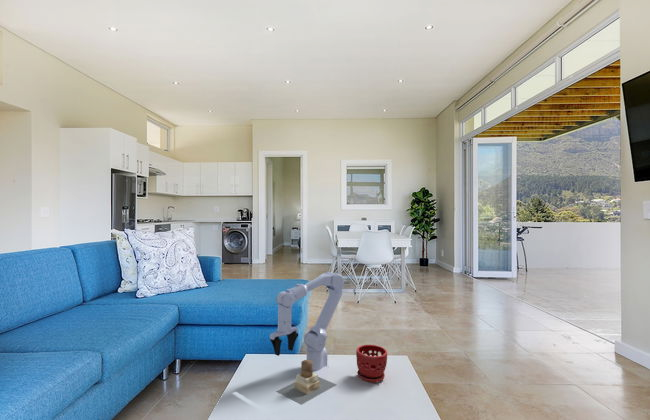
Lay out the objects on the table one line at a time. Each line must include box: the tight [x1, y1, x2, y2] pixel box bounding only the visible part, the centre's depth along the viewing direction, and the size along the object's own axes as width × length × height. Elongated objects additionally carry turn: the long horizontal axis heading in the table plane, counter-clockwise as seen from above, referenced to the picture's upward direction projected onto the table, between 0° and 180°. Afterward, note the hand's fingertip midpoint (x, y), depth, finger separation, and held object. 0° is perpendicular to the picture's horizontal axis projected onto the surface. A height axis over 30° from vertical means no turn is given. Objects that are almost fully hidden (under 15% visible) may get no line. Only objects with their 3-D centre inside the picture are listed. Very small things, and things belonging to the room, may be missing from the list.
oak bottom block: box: [294, 381, 320, 394], centre depth 133 cm, size 7×7×2 cm
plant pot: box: [355, 344, 388, 384], centre depth 144 cm, size 13×13×12 cm
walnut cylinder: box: [300, 359, 314, 378], centre depth 133 cm, size 4×4×5 cm
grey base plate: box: [275, 376, 337, 405], centre depth 133 cm, size 20×14×1 cm
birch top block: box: [296, 372, 319, 387], centre depth 133 cm, size 6×6×2 cm
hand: (284, 352), depth 145 cm, fingers open, 7 cm apart
